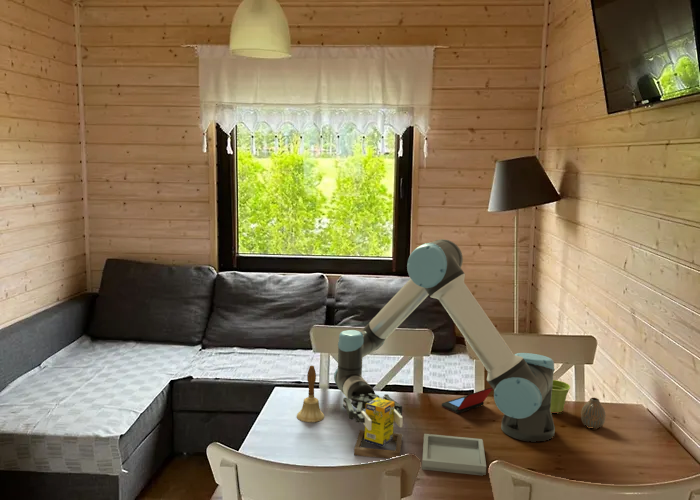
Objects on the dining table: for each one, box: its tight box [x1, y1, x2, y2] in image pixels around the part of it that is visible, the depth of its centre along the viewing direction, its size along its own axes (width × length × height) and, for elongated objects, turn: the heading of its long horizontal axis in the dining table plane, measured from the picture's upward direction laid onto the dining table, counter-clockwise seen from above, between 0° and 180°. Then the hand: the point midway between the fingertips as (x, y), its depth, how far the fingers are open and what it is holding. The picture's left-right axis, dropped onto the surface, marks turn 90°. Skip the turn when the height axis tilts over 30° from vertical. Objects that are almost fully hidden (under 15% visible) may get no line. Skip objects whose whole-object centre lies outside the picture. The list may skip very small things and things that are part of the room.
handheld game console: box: [441, 387, 493, 414], centre depth 211 cm, size 12×11×7 cm
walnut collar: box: [353, 429, 403, 460], centre depth 181 cm, size 12×12×2 cm
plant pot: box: [550, 379, 571, 412], centre depth 211 cm, size 9×9×9 cm
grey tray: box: [421, 433, 487, 476], centre depth 177 cm, size 16×16×2 cm
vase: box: [580, 397, 606, 429], centre depth 200 cm, size 7×7×9 cm
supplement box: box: [363, 397, 395, 447], centre depth 180 cm, size 6×6×11 cm
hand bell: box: [296, 365, 325, 423], centre depth 198 cm, size 8×8×16 cm
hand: (385, 423), depth 175 cm, fingers closed on supplement box, 8 cm apart
